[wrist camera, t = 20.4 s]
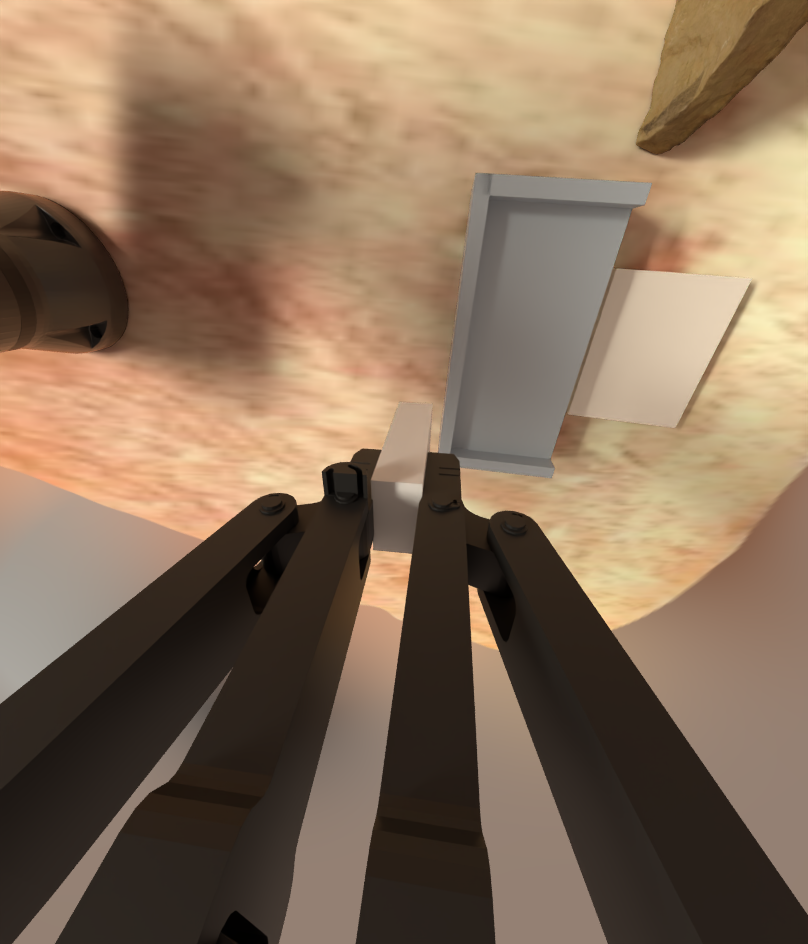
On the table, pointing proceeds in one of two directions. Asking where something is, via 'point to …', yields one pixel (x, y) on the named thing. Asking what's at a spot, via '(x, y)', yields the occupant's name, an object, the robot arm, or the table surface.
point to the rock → (713, 61)
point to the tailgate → (653, 344)
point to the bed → (527, 312)
